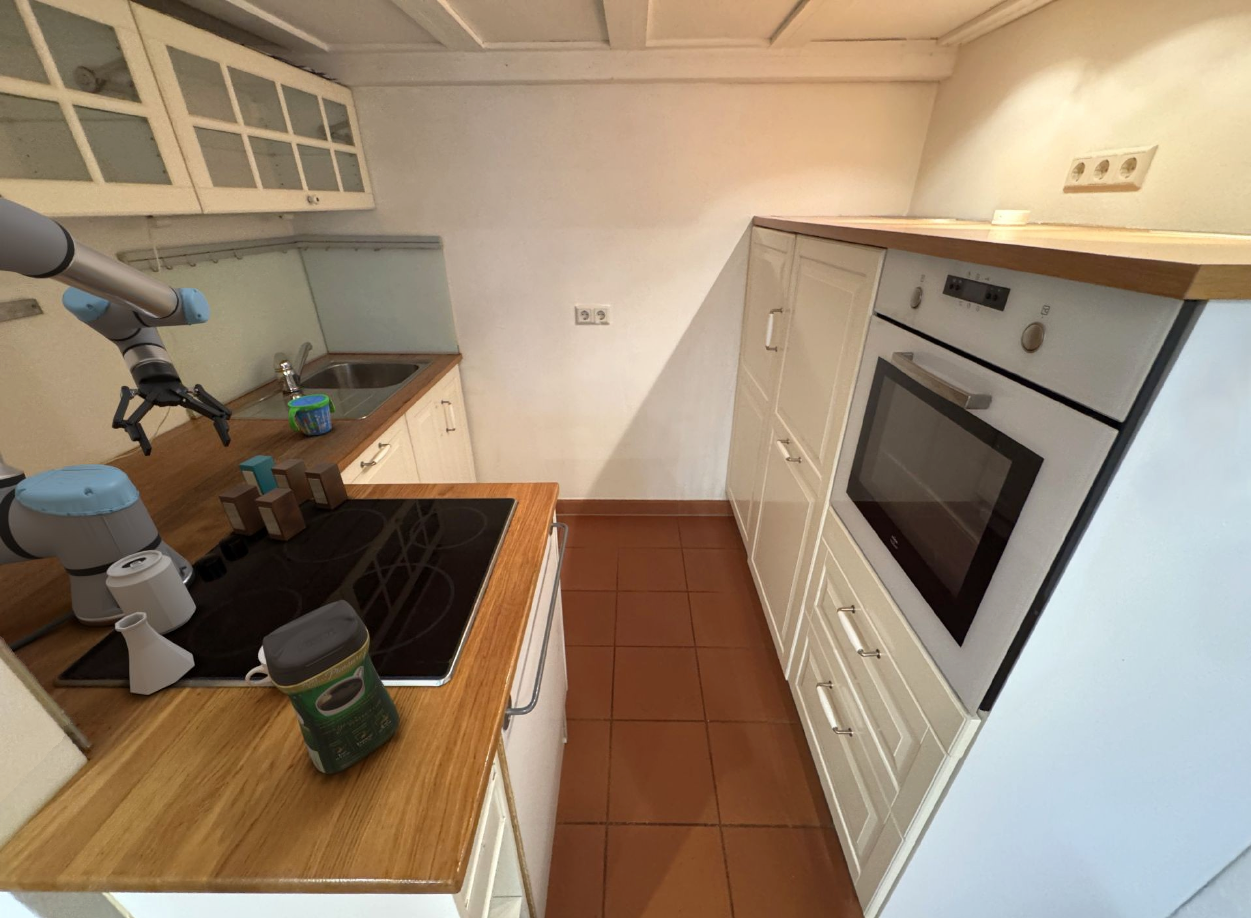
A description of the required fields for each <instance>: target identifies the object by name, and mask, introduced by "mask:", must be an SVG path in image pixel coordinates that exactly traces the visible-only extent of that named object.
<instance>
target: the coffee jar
mask: <svg viewBox="0 0 1251 918" xmlns="http://www.w3.org/2000/svg"><path fill="white" fill-rule="evenodd" d="M370 641H371V638H370V633H369V631H368V629H367V626H366V625H365V624H364V621H363V620H362V619H361V617H360V616H359V615H358V613H357V612H356V610H355V609H354V607H353V606H352V605H351V604H350V603H349V602H347V601H346V600H345V599H340V600H338V601H334V602H331V603H328V604H325V605H323V606H321V607H318V608H316V609H314V610H312V611H310V612H308V613H306V614H304V615H302V616H300V617H298V618H296V619H294V620H292V621H290V622H287V623H285V624H284V625H282V626H280V627H278V628H276V629H275V630H273V631H272V632H270V633H269V634H268V635H266V636H264V637H263V639H262V646H263V650H264V655H265V659H266V664H267V669H268V674H269V677H270V679H271V681H272V682H271V683H272V684H273V685H274V687H275V688H277V689H278V690H279V691H280V692H281V693H283V694H285V695H286V696H287V698H288V699H289V702H290V704H291V706H292V708H293V710H294V712H295V716H296V718H297V721H298V725H299V728H300V732H301V734H302V738H303V741H304V744H305V747H306V750H307V752H308V755H309V757H310V759H311V762H312V763H313V765H314V766H315V768H317V770H318V771H319V772H321V773H323V774H328V775H331V774H332V775H333V774H337V773H341V772H343V771H345V770H347V769H349V768H350V767H352V766H354V765H356V764H357V763H359V762H361V761H362V760H364V759H365V758H366V757H368V756H369V755H371V754H372V753H373V752H375V751H376V750H378V749H379V748H381V746H383V745H385V743H387V742H388V741H389V740H390V739H391V738H392V737H393V736H394V735H395V733H396V731H397V729H398V727H399V723H400V715H399V712H398V710H397V707H396V704H395V703H394V700H393V698H392V696H391V695H390V693H389V691H388V689H387V687H386V686H385V684H384V682H383V680H382V679H381V677H380V675H379V674H378V672H377V670H376V668H375V666H374V664H373V661H372V658H371V655H370V654H369V651H370V643H371V642H370ZM268 674H267V675H268Z"/></svg>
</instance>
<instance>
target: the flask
mask: <svg viewBox="0 0 1251 918" xmlns="http://www.w3.org/2000/svg"><path fill="white" fill-rule="evenodd" d="M114 627H115V628H114V629H115V631H116V632H119V633H120V632H121V634H122V637H123V638H124V639H125V642H126V647H127V649H128V659H129V660H128V661H129V662H128V663H129V666H128V667H129V687H130V690H129V691H130V693H131V694H139V695H147V696H148V695H151V694H153V693H156V692H157V691H159V690H161V689H163V688H166V687H169V686H171V685H172V684H174V683H176V682H178V681H179V680H180V679H181V678H182V677H183V676H185V674H187V673H188V672H189V671H190V670H191V669H192V668H194V667H195V661H194V656H193V654H192V653H191V652H189V650H188V651H187V650H186V649H184V648H183V647H181V646H179V645H178V644H176V643H173V641H171V640H169V639H167V638H166V637H164V636H163V635H159V634H158V633H157V632H156V631H155V630H154V629H153V628H152V627H151V626H150V625H149V624H148V622H147V615H146V613H142V612H136V613H134V614H131V615H128V616H126V617H124V618H123V619H121V620H120V621H118V622H117V623H115V624H114Z"/></svg>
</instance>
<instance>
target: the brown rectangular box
mask: <svg viewBox="0 0 1251 918" xmlns="http://www.w3.org/2000/svg"><path fill="white" fill-rule="evenodd" d="M307 470H308V468H307V465H306V461H305V460H304V459H301V458H288V459H286V460H284V461H281V462H280V463H278V464H275V466H274V467H272V468H271V471H272V473H273V476H274V479H275V481H276V484H277V486H278V488H283V489H291V490H293V493H294V496H295V498H296V501H297V504H298V506H300V505H301V504H303V503H304V502H306V501H308V500H310V499H311V498H313V495H312V492H311V489H310V487H309V484H308V481H307V478H306V475H305V473H304V472H305V471H307Z"/></svg>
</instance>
